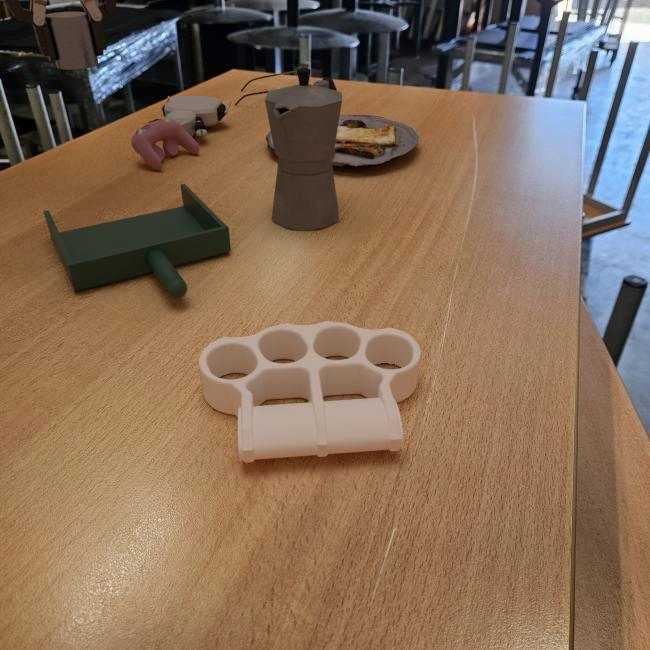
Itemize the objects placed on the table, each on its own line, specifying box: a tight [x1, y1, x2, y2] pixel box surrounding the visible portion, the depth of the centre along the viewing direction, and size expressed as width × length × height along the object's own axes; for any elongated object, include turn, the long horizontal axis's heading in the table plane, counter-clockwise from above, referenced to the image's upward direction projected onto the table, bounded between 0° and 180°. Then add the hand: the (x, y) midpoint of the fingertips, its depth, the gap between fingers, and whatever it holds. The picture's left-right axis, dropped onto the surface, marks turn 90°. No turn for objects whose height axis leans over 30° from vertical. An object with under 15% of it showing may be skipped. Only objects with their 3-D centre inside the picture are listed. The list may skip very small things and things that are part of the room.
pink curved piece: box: [130, 119, 200, 172], centre depth 89 cm, size 10×5×7 cm, turn 149°
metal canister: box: [45, 11, 100, 71], centre depth 68 cm, size 5×5×6 cm
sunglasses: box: [234, 69, 297, 107], centre depth 120 cm, size 14×15×5 cm
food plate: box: [265, 114, 422, 167], centre depth 95 cm, size 25×23×4 cm
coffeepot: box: [264, 66, 343, 232], centre depth 70 cm, size 15×9×18 cm, turn 157°
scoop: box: [42, 183, 232, 299], centre depth 64 cm, size 23×17×4 cm
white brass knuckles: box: [198, 320, 422, 464], centre depth 46 cm, size 3×18×15 cm
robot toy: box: [147, 95, 233, 138], centre depth 101 cm, size 12×4×15 cm
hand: (75, 56), depth 69 cm, fingers closed on metal canister, 4 cm apart
